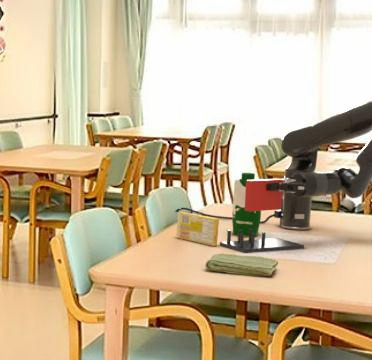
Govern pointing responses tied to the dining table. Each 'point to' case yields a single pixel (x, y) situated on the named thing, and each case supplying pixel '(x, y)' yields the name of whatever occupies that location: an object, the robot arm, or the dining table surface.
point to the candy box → (197, 228)
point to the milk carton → (240, 215)
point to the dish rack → (258, 243)
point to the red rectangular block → (262, 195)
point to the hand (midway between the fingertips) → (264, 186)
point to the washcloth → (241, 264)
